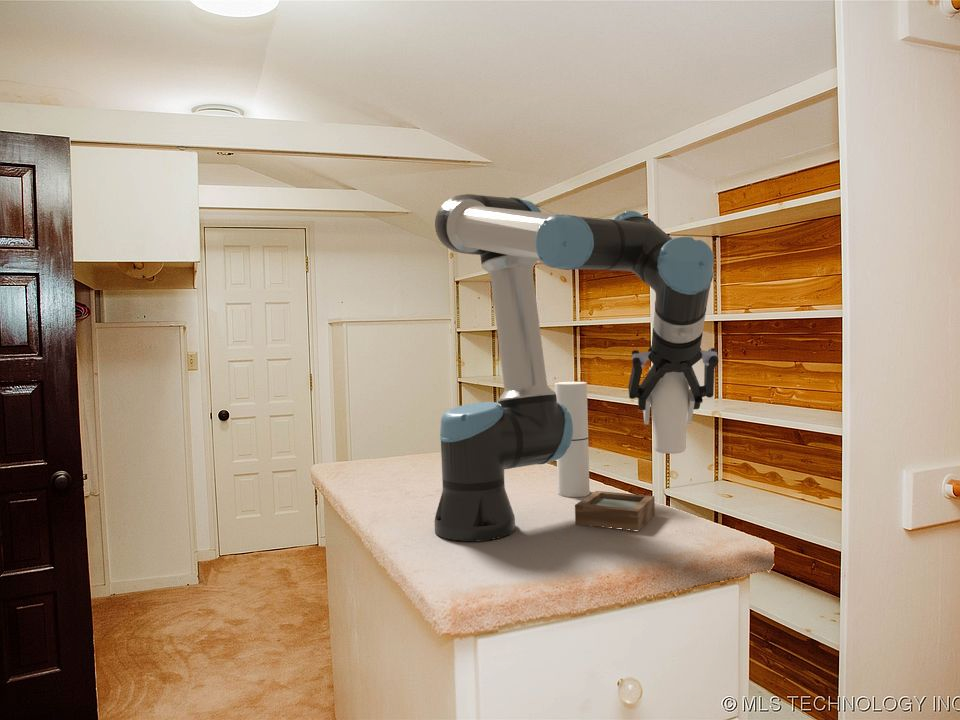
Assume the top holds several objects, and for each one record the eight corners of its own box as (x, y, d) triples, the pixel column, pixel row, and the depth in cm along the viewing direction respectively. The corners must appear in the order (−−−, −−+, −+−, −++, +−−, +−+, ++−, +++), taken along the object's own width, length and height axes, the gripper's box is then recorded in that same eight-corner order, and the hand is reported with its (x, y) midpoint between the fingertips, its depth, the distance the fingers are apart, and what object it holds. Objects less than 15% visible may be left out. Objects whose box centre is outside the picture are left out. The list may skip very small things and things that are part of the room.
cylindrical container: (586, 497, 145) (583, 384, 144) (554, 496, 147) (551, 384, 146) (591, 490, 152) (589, 381, 151) (561, 488, 154) (558, 381, 153)
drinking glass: (663, 456, 113) (662, 368, 112) (643, 449, 119) (641, 366, 118) (698, 453, 114) (696, 366, 114) (675, 447, 121) (674, 365, 120)
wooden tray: (637, 531, 120) (637, 511, 120) (575, 524, 126) (574, 504, 125) (654, 514, 130) (654, 496, 130) (596, 508, 136) (595, 490, 136)
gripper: (614, 347, 102) (612, 435, 119) (748, 344, 99) (726, 434, 116) (612, 314, 107) (610, 402, 124) (739, 309, 104) (720, 401, 121)
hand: (666, 418), depth 120 cm, fingers closed on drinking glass, 7 cm apart
